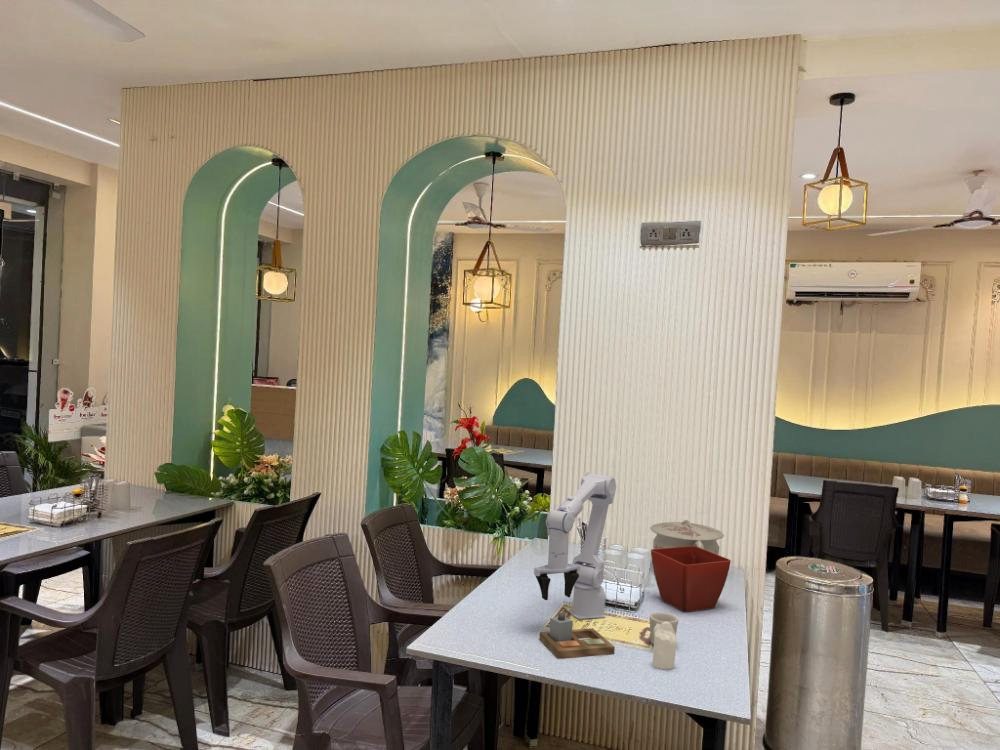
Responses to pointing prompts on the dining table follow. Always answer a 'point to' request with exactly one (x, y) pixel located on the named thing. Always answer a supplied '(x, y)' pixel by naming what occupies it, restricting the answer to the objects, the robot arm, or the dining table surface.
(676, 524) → the chamber pot
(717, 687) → the dining table surface
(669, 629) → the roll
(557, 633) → the plug
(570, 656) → the socket board
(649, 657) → the dining table surface
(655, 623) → the cup
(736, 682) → the dining table surface
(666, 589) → the plant pot
